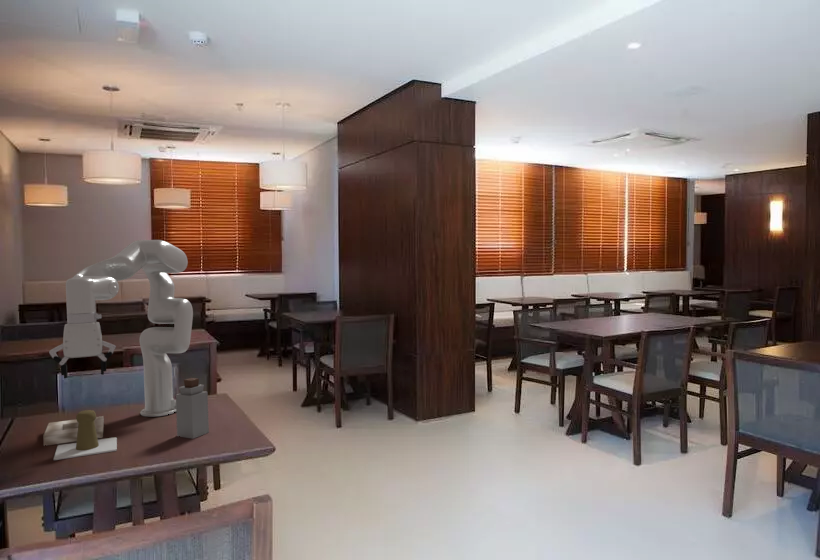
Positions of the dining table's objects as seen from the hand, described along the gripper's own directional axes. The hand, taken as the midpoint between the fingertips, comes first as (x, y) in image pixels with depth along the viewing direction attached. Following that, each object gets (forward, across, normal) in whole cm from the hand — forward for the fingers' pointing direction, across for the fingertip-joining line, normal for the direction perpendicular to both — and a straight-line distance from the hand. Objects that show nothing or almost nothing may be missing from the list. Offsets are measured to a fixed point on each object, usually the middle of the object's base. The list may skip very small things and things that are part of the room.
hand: (84, 375), depth 172 cm
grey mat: (+22, 0, 0) cm, 22 cm away
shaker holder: (+22, +4, -18) cm, 29 cm away
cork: (+22, 0, 0) cm, 22 cm away
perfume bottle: (+22, -30, +1) cm, 37 cm away
